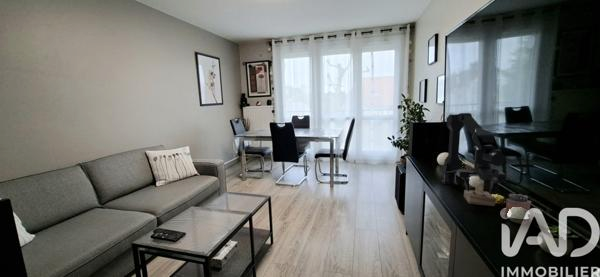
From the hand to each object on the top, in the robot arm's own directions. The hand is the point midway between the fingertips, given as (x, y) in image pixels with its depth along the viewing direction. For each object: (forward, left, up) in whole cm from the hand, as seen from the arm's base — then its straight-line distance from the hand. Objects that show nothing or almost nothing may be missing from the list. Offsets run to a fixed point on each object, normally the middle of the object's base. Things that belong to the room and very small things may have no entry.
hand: (479, 192), depth 121 cm
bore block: (0, 0, -4) cm, 4 cm away
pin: (0, 0, -4) cm, 4 cm away
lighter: (+15, +9, -5) cm, 18 cm away
